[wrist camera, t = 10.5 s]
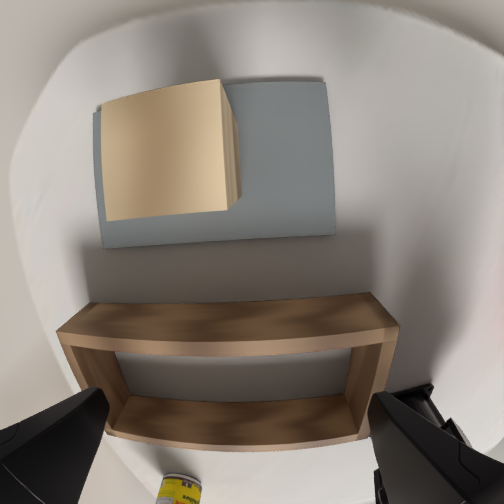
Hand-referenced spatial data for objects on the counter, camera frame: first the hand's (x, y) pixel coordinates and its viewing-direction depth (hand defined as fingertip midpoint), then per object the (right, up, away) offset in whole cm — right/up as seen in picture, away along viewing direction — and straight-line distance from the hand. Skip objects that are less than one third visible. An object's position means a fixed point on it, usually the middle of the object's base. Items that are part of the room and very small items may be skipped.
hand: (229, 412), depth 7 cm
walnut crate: (-1, -4, +13) cm, 14 cm away
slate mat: (-2, +11, +9) cm, 14 cm away
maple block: (-2, +10, +9) cm, 14 cm away
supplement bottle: (-9, -27, +19) cm, 34 cm away
